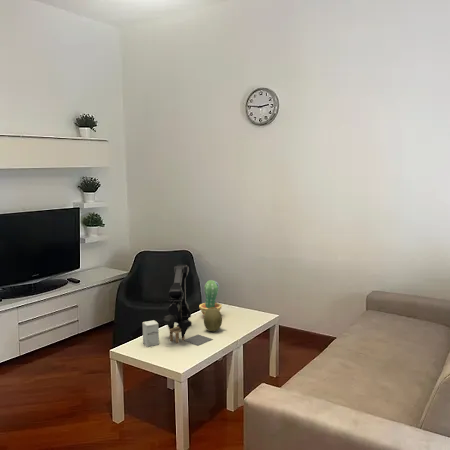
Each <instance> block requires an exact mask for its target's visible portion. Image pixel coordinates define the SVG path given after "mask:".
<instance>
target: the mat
mask: <svg viewBox="0 0 450 450" xmlns="http://www.w3.org/2000/svg"><path fill="white" fill-rule="evenodd" d="M212 340H214V339H213V338H210V337H207V336H204V335H201V334H195V335H192V336H191V337H187V338H185V340H183V342H186V343H190V344H192V345H195V346H197V347H198V346H200V345H203V344H205V343H208V342H211V341H212Z"/></svg>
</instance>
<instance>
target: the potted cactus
mask: <svg viewBox="0 0 450 450" xmlns="http://www.w3.org/2000/svg"><path fill="white" fill-rule="evenodd" d="M203 290H204V295H205V302H203V303H200V304H199V307H198V308H199V310H200V311H201V314H202V315H203V316H204V315H205V312H206V310H207V309H208V308H210V307H216V308H217V309H218V310H219V311H220V312H221V310H222V306H223V305H222V304H221V303H219V302H216V299H217V296H218V293H219V290H220V284H219V283H218V282H217V281H216V280H213V279H209V280H207V282H206V283H204V289H203Z"/></svg>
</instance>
